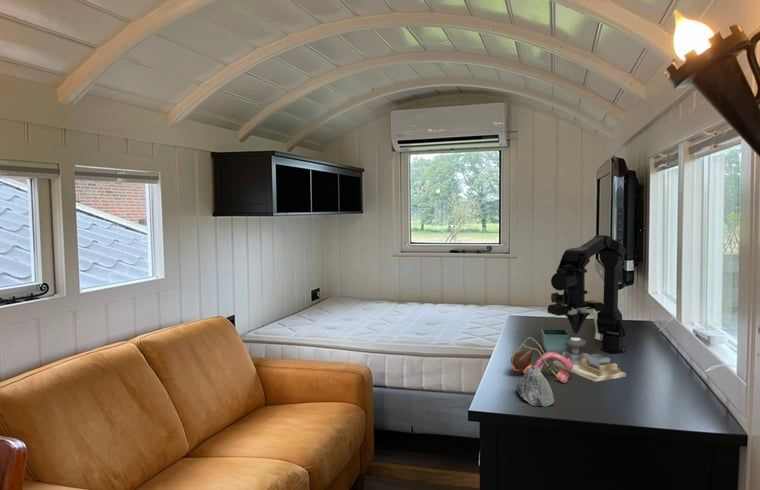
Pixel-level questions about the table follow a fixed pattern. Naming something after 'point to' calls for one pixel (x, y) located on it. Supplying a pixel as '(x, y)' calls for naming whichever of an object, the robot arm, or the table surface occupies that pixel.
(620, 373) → the chassis board
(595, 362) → the brushed metal cube
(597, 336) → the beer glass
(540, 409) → the table surface
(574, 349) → the grey rounded knob
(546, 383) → the mineral rock
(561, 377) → the anatomy model
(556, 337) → the flower pot
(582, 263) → the robot arm
